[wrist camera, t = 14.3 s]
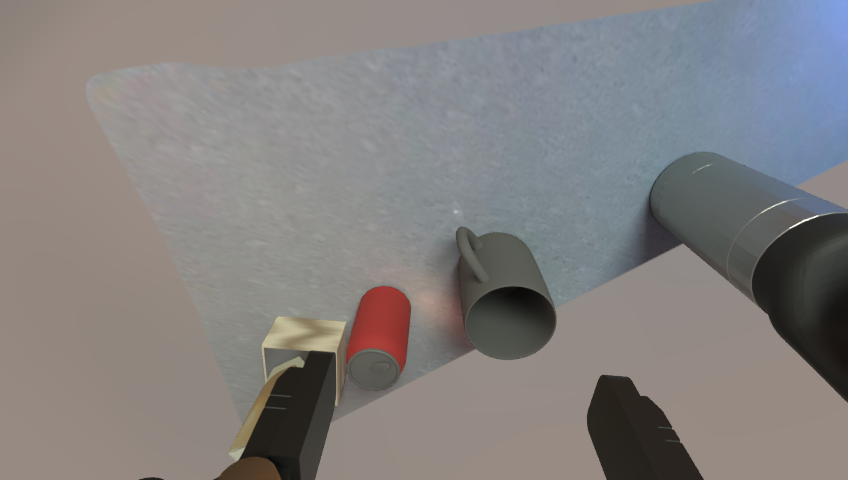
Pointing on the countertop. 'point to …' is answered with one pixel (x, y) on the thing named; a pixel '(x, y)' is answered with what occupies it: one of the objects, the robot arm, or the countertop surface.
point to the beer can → (379, 339)
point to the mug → (503, 296)
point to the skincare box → (259, 407)
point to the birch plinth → (305, 344)
